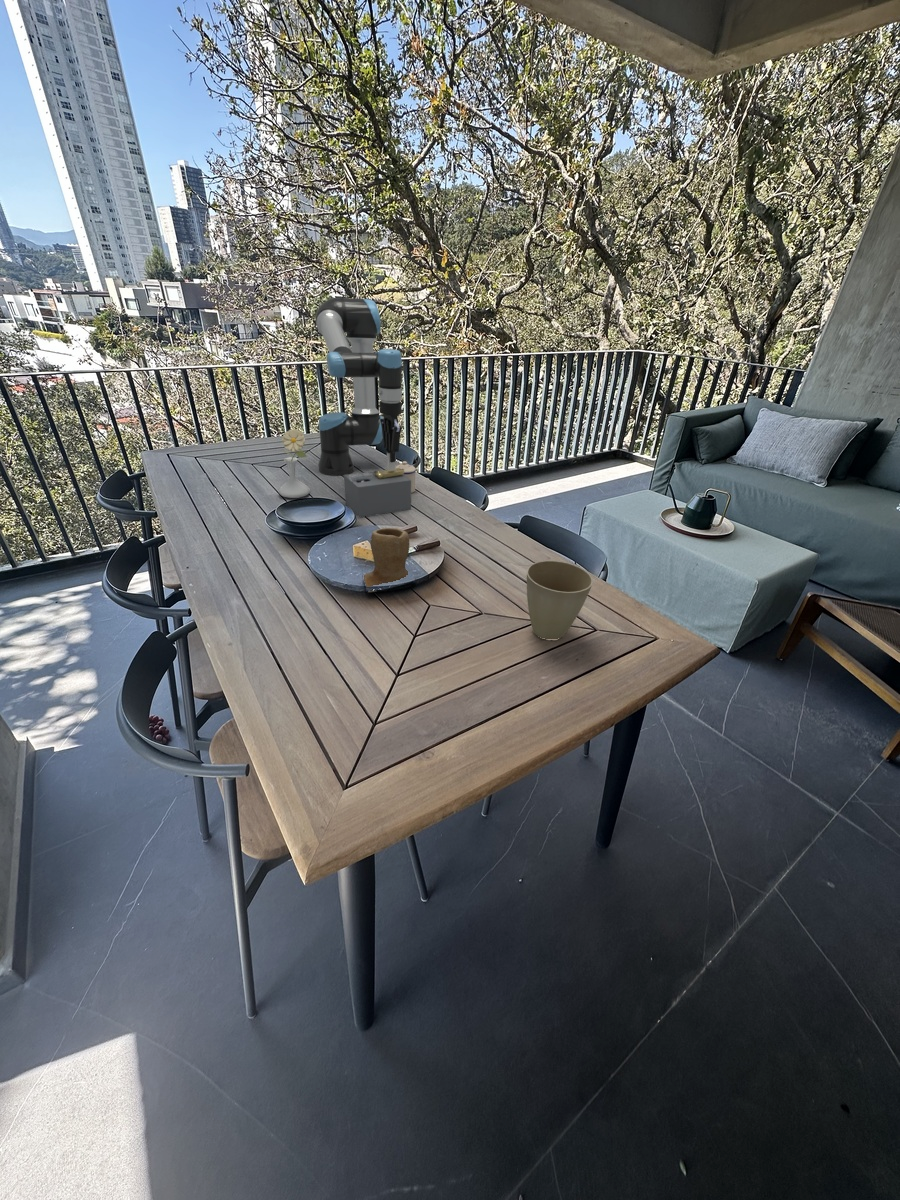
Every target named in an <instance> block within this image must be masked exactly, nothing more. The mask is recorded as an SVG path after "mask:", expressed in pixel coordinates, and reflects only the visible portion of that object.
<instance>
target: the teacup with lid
mask: <svg viewBox="0 0 900 1200" xmlns="http://www.w3.org/2000/svg"><path fill="white" fill-rule="evenodd" d="M396 468H400V469H404V474H403V475H404V476H406V477H407V478H409V479H410V480H411V494H413V493H414V492H415V491H416V472H417V468H416V467H415V466H413V465H411V464H409V463H408V462H407V461H405V460H404V461H402V462H401V463H400V464H398V465H396Z"/></svg>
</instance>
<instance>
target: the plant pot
mask: <svg viewBox="0 0 900 1200" xmlns="http://www.w3.org/2000/svg"><path fill="white" fill-rule="evenodd" d="M593 584H594V580H593V577H592V575H591V574H590V573H589V572H588V571H586V570H585V569H584V568H582V567H580V566H578V565H575V564H573V563H569V562H565V561H560V560H559V561H558V560H541V561H536V562H534V563H532V564H531V565H529V566H528V567H527V570H526V597H527V600H526V601H527V607H528V615H529V620H530V625H531V629H532V633H533V634H534V633H535V634H536V635H537V636H539V637H541V638H545V639H558V638H561V637H562V638H563V637H564V636H565V635H566V634H567V632H568V631H569V629H570V628H571V626H572V625H573V623H574V622H575V621H576V618H577V617H578V615H579V613H580V612H581V610H582V608H583V607H584V604H585V602H586V600H587V598H588V596H589V594H590V591H591V589H592V586H593ZM535 634H534V635H535ZM536 635H535V636H536ZM537 636H536V637H537ZM539 637H538V638H539ZM541 638H540V639H541ZM562 638H561V639H562Z"/></svg>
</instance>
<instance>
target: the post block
mask: <svg viewBox="0 0 900 1200" xmlns="http://www.w3.org/2000/svg"><path fill="white" fill-rule="evenodd" d="M383 470H384V469H382V470H380V471H383ZM375 471H376V470H375ZM375 471H373V470H372V471H365V472H363V473H368V472H370V473H372V474H373V479H371V480H366V482H359V483H357V481H356V482H351V481H350V480H349V475H352V474H353V473H349V474H345V475H343V484H344V499H345V505H346V506H347V507H348V508H349V507H350V508H351V509H352V510H353V511H354V512H355V513H356V514H357V515H358V516H359V517H360V518H366V517H371V516H370V515H373V516H377V515H376V514H379V515H383V514H382V513H385V514H389V513H391V514H392V513H397V512H401V511H409V510H412V509H411V508H412V493H411V480H410V479H409V478H407V477H406V476H404V475H397V476H391V477H386V478H382V479H380V478H378V477H377V476H376V475H374V472H375ZM360 473H361V472H358V473H355V474H360ZM350 508H349V509H350ZM351 509H350V510H351ZM352 510H351V511H352ZM353 511H352V512H353ZM354 512H353V513H354ZM355 513H354V514H355ZM356 514H355V515H356ZM357 515H356V516H357ZM358 516H357V517H358ZM365 516H366V517H365ZM359 517H358V518H359Z"/></svg>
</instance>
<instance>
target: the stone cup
mask: <svg viewBox="0 0 900 1200" xmlns="http://www.w3.org/2000/svg"><path fill="white" fill-rule="evenodd" d="M370 549H371V552H372V553H371V555H372V558H373V561H374V569H373V570H372V571H370V572H368V573H364V574H365V575H364V579H363V582H364V581H365V583H364V585H365V584H366V586H367V587H370V586H373V585H379V584H382V583H388V582H393V581H396V580H400V579H401V578H404V577H406V575H408V571H407V570H406V569H407V568H406V562H407V559H408V556H409V552H410V537H409V533H408V532H407V531H406V530H405V529H404V530H403V529H400V528H397V527H396V528H395V527H384V528H378V529H375V530H373V531H372V533H371V538H370ZM374 592H376V591H368V592H367V593H374Z"/></svg>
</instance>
